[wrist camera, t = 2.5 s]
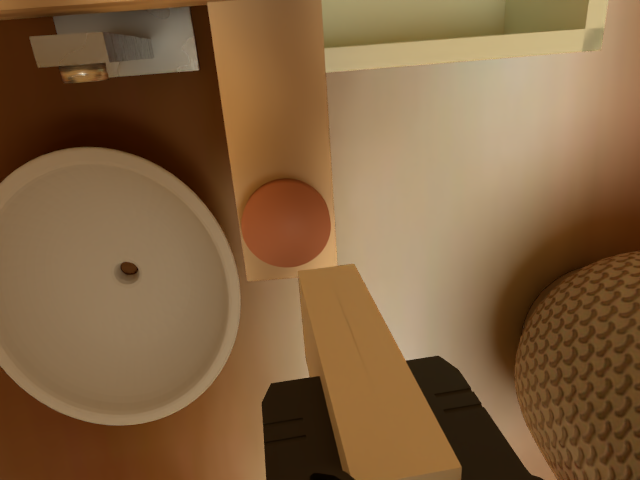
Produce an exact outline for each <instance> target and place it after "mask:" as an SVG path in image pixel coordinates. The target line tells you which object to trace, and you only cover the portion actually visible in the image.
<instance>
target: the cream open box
mask: <svg viewBox="0 0 640 480" xmlns="http://www.w3.org/2000/svg"><path fill="white" fill-rule="evenodd" d="M321 3H322V20H323V36H324V53H325V69H326V73H328V72H341V71H353V70H365V69H377V68H389V67H401V66H414V65H426V64H438V63H450V62H462V61H474V60H487V59H499V58H511V57H523V56H535V55H547V54H560V53H572V52H584V51H596V50H601V47H602V41H603V34H604V27H605V20H606V14H607V7H608V0H321Z"/></svg>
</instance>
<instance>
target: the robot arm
mask: <svg viewBox="0 0 640 480" xmlns="http://www.w3.org/2000/svg"><path fill="white" fill-rule="evenodd" d="M298 281H299V291H300V302H301V313H302V323H303V334H304V345H305V355H306V361H307V366H308V371H309V376H310V378H303V379H297V380H290V381H284V382H278V383H271V385H270V387H269V389H268V391H267V393H266V395H265V397H264V399H263V401H262V415H263V431H264V445H265V447H264V448H265V464H266V480H543V479H542V478H540V477H537V476H533V475H531V474H530V473H529V472H528V470H527V469H526V468H525V467H524V465H523V464H522V462H521V461H520V459H519V458H518V456H517V455H516V453H515V452H514V451H513V449H512V448H511V446H510V445H509V443H508V442H507V440H506V439H505V437H504V436H503V434H502V433H501V431H500V430H499V429H498V427H497V426H496V424H495V423H494V421H493V420H492V418H491V417H490V415H489V414H488V412H487V411H486V409H485V408H484V407H482V405H481V402H480V401H479V399H478V398H477V396H476V395H475V393H474V392H472V391H471V387H470V386H469V384H468V383H467V381H466V380H465V379H464V377H463V376H462V374H461V373H460V371H459V370H458V369H457V368H455V367H454V366H453V365H451V364H450V363H448V362H447V361H445V360H444V359H443V358H441V357H440V356H434V357H427V358H421V359H414V360H408V361H405V359H404V357H403V355H402V353H401V351H400V349H399V348H398V346H397V344H396V342H395V340H394V338H393V336H392V334H391V332H390V331H389V329H388V327H387V325H386V323H385V321H384V319H383V317H382V315H381V314H380V312H379V310H378V308H377V306H376V304H375V302H374V300H373V299H372V297H371V295H370V293H369V291H368V289H367V287H366V285H365V283H364V282H363V280H362V278H361V276H360V274H359V272H358V270H357V268H356V266H355V265H354V264H348V265H341V266H333V267H325V268H317V269H310V270H302V271H298Z"/></svg>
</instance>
